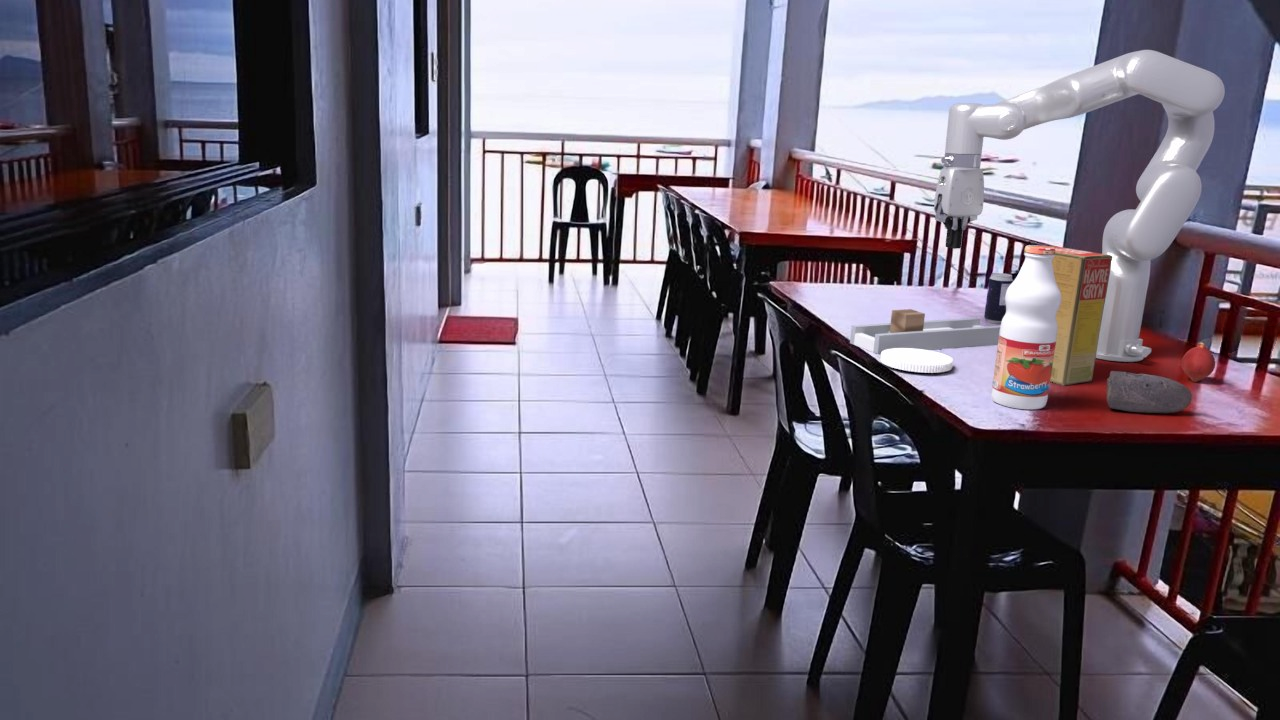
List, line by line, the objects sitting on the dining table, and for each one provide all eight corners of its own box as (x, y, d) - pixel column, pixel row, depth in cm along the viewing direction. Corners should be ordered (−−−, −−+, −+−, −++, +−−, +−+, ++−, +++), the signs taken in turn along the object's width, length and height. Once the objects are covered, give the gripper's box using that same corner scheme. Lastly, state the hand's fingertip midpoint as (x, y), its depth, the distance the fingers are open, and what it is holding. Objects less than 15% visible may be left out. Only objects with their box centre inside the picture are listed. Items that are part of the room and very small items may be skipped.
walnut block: (922, 335, 210) (924, 313, 209) (903, 337, 208) (906, 314, 207) (908, 331, 215) (910, 309, 214) (889, 332, 213) (892, 310, 212)
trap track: (1004, 344, 217) (1007, 326, 216) (877, 354, 203) (879, 335, 202) (973, 334, 226) (975, 317, 225) (849, 343, 212) (851, 325, 211)
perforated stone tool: (1183, 411, 171) (1190, 373, 169) (1195, 420, 166) (1202, 381, 164) (1094, 404, 173) (1100, 367, 171) (1103, 413, 168) (1110, 374, 166)
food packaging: (1094, 381, 188) (1115, 254, 182) (1063, 386, 184) (1083, 256, 177) (1037, 364, 199) (1055, 245, 193) (1006, 369, 195) (1023, 246, 188)
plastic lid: (959, 367, 196) (961, 355, 195) (939, 381, 185) (941, 369, 184) (893, 356, 203) (894, 344, 203) (870, 369, 192) (871, 357, 191)
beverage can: (1004, 320, 243) (1010, 273, 240) (1010, 324, 238) (1016, 277, 235) (981, 318, 244) (987, 272, 241) (986, 323, 238) (993, 275, 235)
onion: (1181, 375, 195) (1188, 337, 193) (1213, 381, 191) (1221, 342, 189) (1175, 381, 190) (1182, 342, 188) (1208, 387, 187) (1216, 347, 185)
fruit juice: (1026, 394, 177) (1048, 243, 170) (1057, 410, 168) (1082, 251, 161) (980, 395, 175) (1000, 242, 168) (1009, 411, 166) (1031, 250, 159)
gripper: (946, 163, 200) (937, 251, 204) (1001, 163, 205) (991, 249, 210) (922, 161, 206) (914, 246, 211) (977, 161, 212) (967, 244, 217)
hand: (953, 247), depth 210 cm, fingers closed
